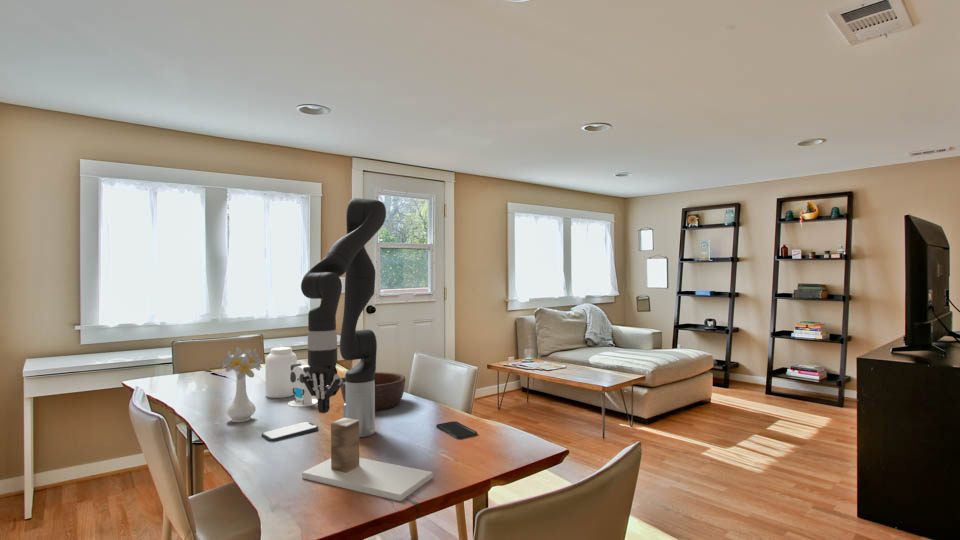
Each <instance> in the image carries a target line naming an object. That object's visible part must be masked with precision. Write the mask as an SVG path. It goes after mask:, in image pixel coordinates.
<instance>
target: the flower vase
mask: <svg viewBox="0 0 960 540" xmlns="http://www.w3.org/2000/svg"><path fill="white" fill-rule="evenodd" d="M251 351H252V349H251V348H246V349H245V350H244V351H243V350H242V349H241V348H240V347H236V348H235V352H234V353H233V354H232V355H231V351H230V350H228V352H227V356H226V357H225V358H224V359H223V362H222V366H221V368H220V371H221V370H223V369H224V368H225V372H226V373H228V372H231V371H232V370H233V371H234V372H235V377H236V380H235V381H236V382H235V383H236V384H235V385H236V389H235V395H234V398H233V401H232V402H231V403H230V405H229V406H228V407H227V409H226V413H225V414H226V416H227V417H228V418H230V419H231V422H232V423H244V422H248V421H250V420H251V419H252V416H253V415H254V414H255V413H256V411H257V409H256V405H255V404H254V402H253V401H251V400H250V399H249V396H248V393H247V385H246V383H247V382H246V381H247V379H246V376H247V377H249V378H251V379H252V378H254V377H255V373H254V372H253V370H254V369H255V370H257V371H261V369H262V365H261V364H262V363H263V362H264V361H263V359H262V358H260V355H259V354H257V348H255V349H254V350H253V351H252V352H251Z"/></svg>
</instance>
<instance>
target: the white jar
mask: <svg viewBox="0 0 960 540" xmlns="http://www.w3.org/2000/svg"><path fill="white" fill-rule="evenodd" d="M269 351H270V352H269V354H268V355H266V358H265V362H264V363H265V364H264V365H265V368H264V369H265V396H266V397H267V398H270V399H281V398H282V399H283V398H284V399H285V398H288V397H292V396H295V394H294V393H293V388H294V387H293V385H292V382H291V380H290V375H291V372H292V371H291V369H290V367H291V365H293V364H298V357H297V354H296V353H295V352H293V348H292V347H291V346H278V347H277V346H276V347H272V348H271V349H270V350H269Z"/></svg>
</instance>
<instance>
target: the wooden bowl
mask: <svg viewBox="0 0 960 540" xmlns="http://www.w3.org/2000/svg"><path fill="white" fill-rule="evenodd" d="M343 378H344V382H343V384H342V385H341V387H340V391H341V395H342V396H341V397H342V399H343V402H344V404H345V403H346V390H345V377H343ZM405 384H406V376H404V375H403V374H400V373H397V372H388V371H387V372H385V371H377V372H376V371H375V411H382V410H387V409H390V408H391V409H392V408H393V407H396V406H397V405H399V404H400V402H401V401H402V398H403V395H404V391H405V386H406V385H405Z"/></svg>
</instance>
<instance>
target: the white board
mask: <svg viewBox="0 0 960 540" xmlns="http://www.w3.org/2000/svg"><path fill="white" fill-rule="evenodd" d="M301 478H302V479H303V480H308V481H312V482H317V483H322V484H325V485H329V486H334V487H338V488H342V489H343V488H344V489H346V490H351V491H355V492H359V493H365V494H368V495H373V496H377V497H381V498H385V499H389V500H394V501H399V502H402V501H403V500H404V499H406V498H407V497H408V496H410V495H411V494H412V493H414V492H415V491H417V490H418V489H419V488H420V487H422V486H423V485H425V484H426V483H428V481H430V480H431V479H433V471H428V470H425V469H419V468H415V467H414V468H413V467H408V466H403V465H398V464H394V463H388V462H383V461H378V460H374V459H369V458H364V457H359V466H358V467H356V468H354V469H353V470H351V471H349V472H347V473H345V472H341V471H336V470H331V457H330V458H328V459H326V460H324V461H322V462H321V463H320V462H319V464H315V465H314V466H312V467H310V468H308V469H306V470H304V471H302V472H301Z"/></svg>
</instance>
